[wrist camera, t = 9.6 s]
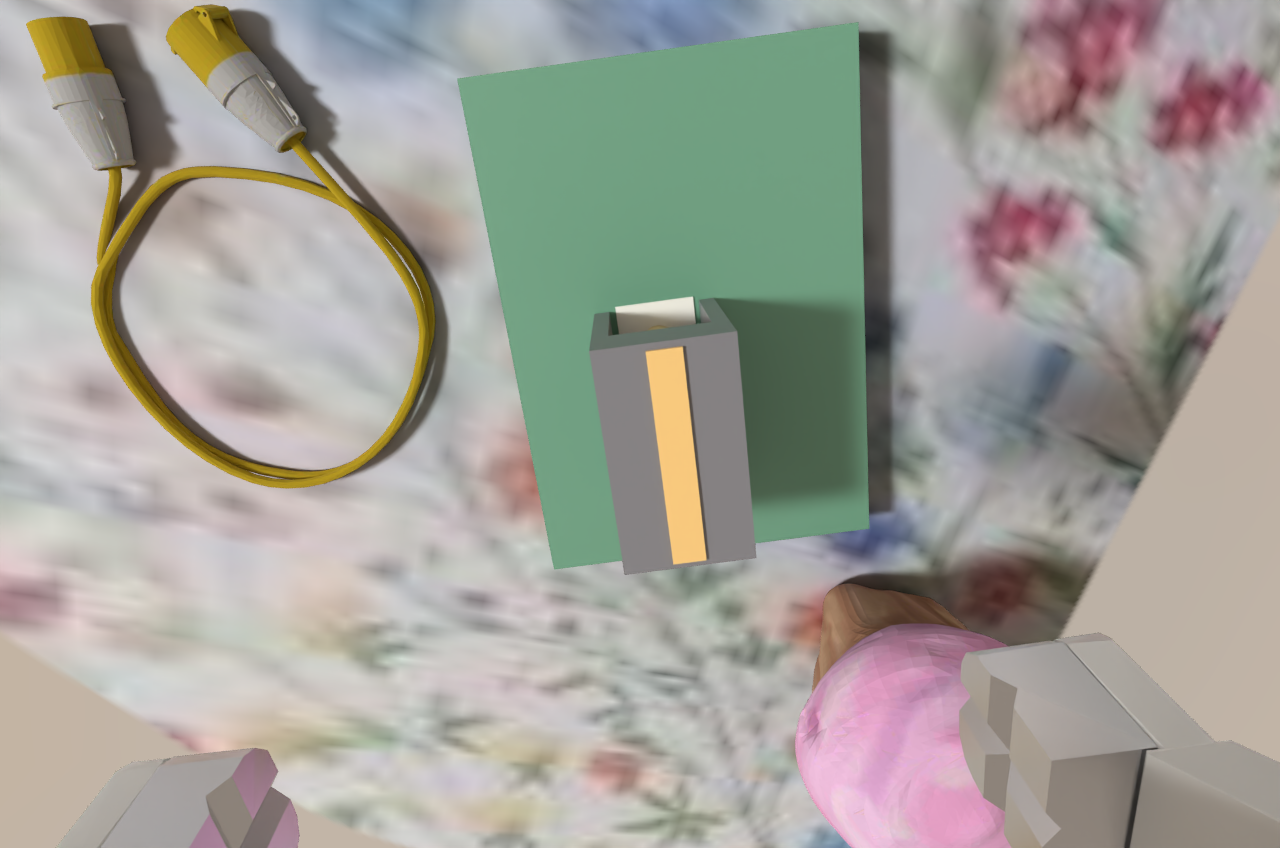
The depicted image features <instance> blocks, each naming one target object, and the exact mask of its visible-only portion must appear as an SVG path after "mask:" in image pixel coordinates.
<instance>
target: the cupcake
mask: <svg viewBox="0 0 1280 848" xmlns="http://www.w3.org/2000/svg"><path fill="white" fill-rule="evenodd" d="M1001 647H1009V646H1007V645H1005V644H1004V643H1002V642H1000V641H997V640H995V639H993V638H991V637H988V636H985V635H982V634H979V633H975V632H972V631H969V630H968V629H967V628H966V627H965V626H964V625H963V624H962V623H961V622H960V621H959V620H957V619H956V618H955V617H953V616H952V615H951V614H950V613H949V612H948V611H947V610H946V609H945V608H944V607H943V606H941V605H939V604H938V603H937V602H935V601H934V600H932V599H931V598H927V597H923V596H917V595H912V594H906V593H901V592H897V591H893V590H877V589H871V588H867V587H864V586H860V585H857V584H850V583H848V584H841V585H838V586H836V587H834V588H833V589H831V590H830V591H829V592H828V594H827V595H826V597H825V599H824V602H823V622H822V630H821V641H820V653H819V656H818V658H817V662H816V665H815V669H814V680H813V686H812V694H811V696H810V698H809V699H808V701H807V703H806V705H805V707H804V708H803V710H802V712H801V714H800V718H799V721H798V726H797V732H796V741H795V748H796V757H797V762H798V767H799V770H800V773H801V776H802V779H803V781H804V783H805V786H806V788H807V790H808V792H809V794H810V796H811V798H812V799H813V801H814V803H815V804H816V806H817V807H818V808H819V810H820V811H821V813H822V814H823V815H824V817H825V818H826V819H827V820H828V822H829V823H830V824H831V825H832V826H833V827H834V828H835V829H836V831H837V832H838V833H839V834H840V835H841V836H842V838H843V839H844V840H845V841H846V842H847V843H848V844H849V845H850V846H851V847H852V848H1011V846H1010V844H1009V842H1008V841H1007V839H1006V837H1005V835H1004V823H1005V812H1004V811H1003V810H1001V809H1000V808H998V807H997V806H995V805H994V804H992V803H991V802H989V801H988V800H986V799H985V798H983V796H982V794H981V793H980V791H979V789H978V787H977V785H976V783H975V781H974V780H973V778H972V775H971V773H970V770H969V768H968V765H967V763H966V760H965V758H964V753H963V748H962V744H961V739H960V735H959V710H960V709H961V708H962V707H963V705H964V704H965V703H966V702H967V701H968V699H969V698H970V697H971V696H970V695H969V693H968V691H967V690H966V688H965V687H964V685H963V684H962V682H961V663H962V660H963V658H964V656H965V654H966V652H973V651H980V650H987V649H994V648H1001Z"/></svg>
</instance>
